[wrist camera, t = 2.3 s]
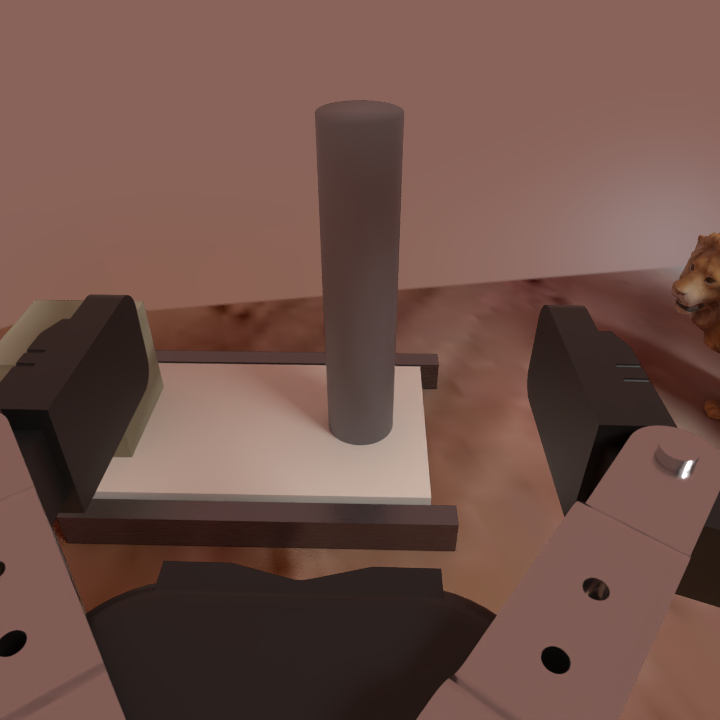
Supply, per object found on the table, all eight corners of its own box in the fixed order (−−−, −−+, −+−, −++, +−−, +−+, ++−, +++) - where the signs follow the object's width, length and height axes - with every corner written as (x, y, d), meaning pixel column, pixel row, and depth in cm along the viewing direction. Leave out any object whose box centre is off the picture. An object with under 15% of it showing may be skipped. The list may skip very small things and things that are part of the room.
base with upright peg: (418, 388, 34) (438, 81, 25) (428, 521, 27) (462, 155, 17) (52, 383, 34) (-61, 79, 25) (-37, 512, 27) (-240, 151, 18)
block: (163, 386, 32) (143, 301, 29) (132, 457, 28) (104, 366, 25) (65, 385, 32) (35, 299, 29) (19, 455, 28) (-21, 364, 25)
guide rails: (435, 377, 35) (437, 353, 34) (455, 550, 26) (458, 525, 25) (150, 373, 35) (144, 350, 34) (67, 543, 26) (56, 517, 25)
